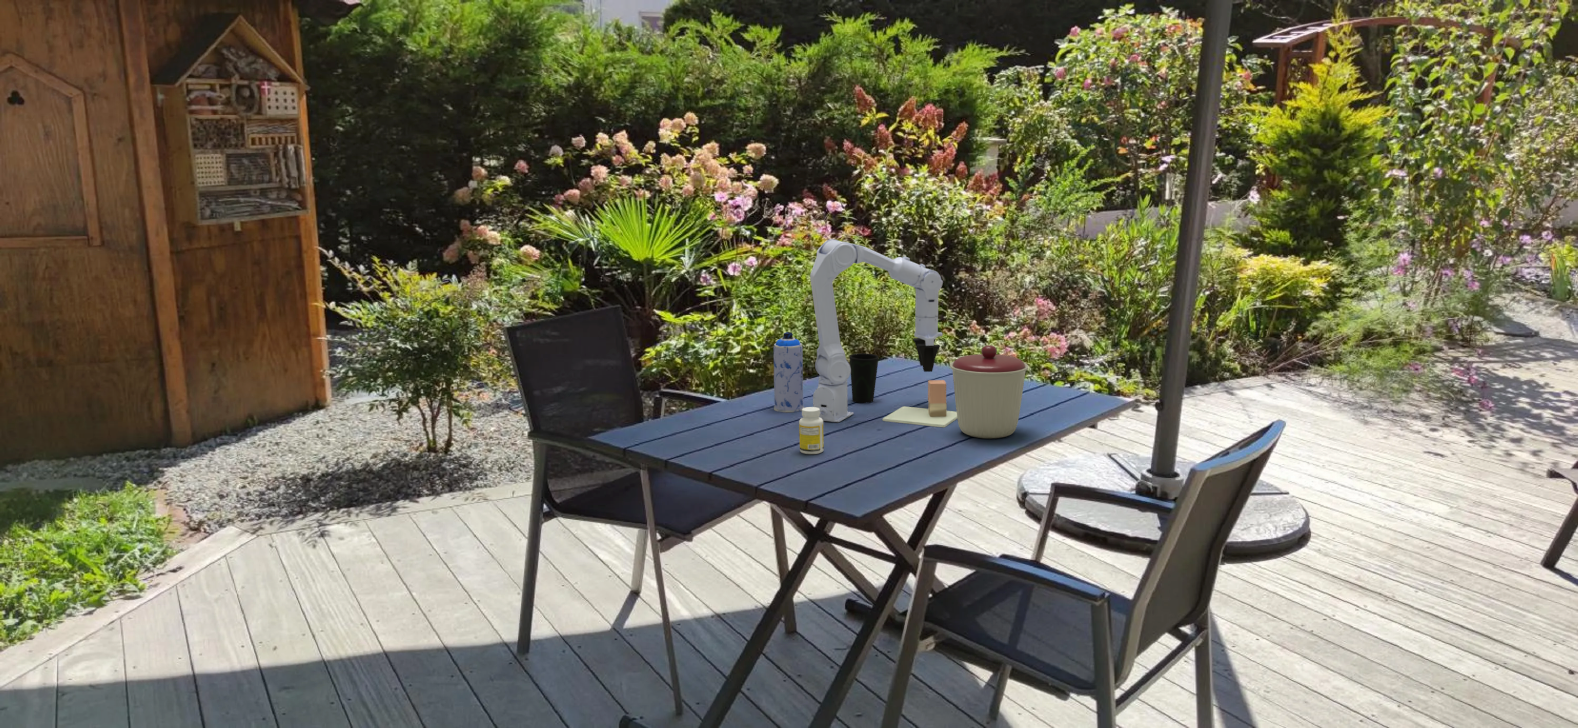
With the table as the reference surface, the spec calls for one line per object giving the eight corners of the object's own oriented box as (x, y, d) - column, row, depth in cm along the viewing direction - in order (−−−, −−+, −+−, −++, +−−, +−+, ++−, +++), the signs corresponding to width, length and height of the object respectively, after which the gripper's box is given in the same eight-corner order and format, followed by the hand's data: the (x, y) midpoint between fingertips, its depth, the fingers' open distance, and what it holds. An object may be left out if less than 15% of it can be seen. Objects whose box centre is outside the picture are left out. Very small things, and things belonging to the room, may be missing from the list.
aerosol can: (806, 411, 291) (805, 334, 287) (776, 413, 290) (774, 335, 286) (801, 404, 298) (800, 329, 294) (771, 406, 297) (770, 330, 293)
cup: (875, 404, 297) (876, 360, 295) (846, 403, 299) (847, 358, 296) (879, 397, 305) (880, 354, 302) (850, 396, 306) (851, 352, 303)
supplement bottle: (809, 446, 258) (809, 404, 256) (828, 450, 254) (828, 408, 252) (794, 452, 254) (794, 409, 252) (813, 456, 250) (813, 413, 248)
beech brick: (946, 416, 281) (946, 403, 280) (930, 416, 281) (930, 403, 280) (944, 412, 285) (944, 399, 284) (928, 412, 285) (928, 399, 284)
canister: (1026, 445, 257) (1029, 353, 253) (946, 441, 260) (947, 351, 256) (1026, 425, 274) (1028, 339, 270) (951, 422, 278) (952, 337, 274)
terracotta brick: (946, 403, 280) (946, 383, 279) (929, 403, 280) (930, 383, 279) (943, 399, 284) (944, 380, 283) (927, 399, 284) (928, 380, 283)
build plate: (944, 427, 273) (944, 425, 273) (882, 420, 280) (882, 418, 280) (962, 414, 285) (962, 412, 285) (903, 408, 292) (903, 406, 292)
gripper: (946, 320, 281) (945, 374, 284) (938, 311, 295) (938, 362, 298) (917, 320, 281) (917, 374, 284) (911, 311, 295) (911, 363, 298)
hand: (926, 368), depth 291 cm, fingers open, 7 cm apart
